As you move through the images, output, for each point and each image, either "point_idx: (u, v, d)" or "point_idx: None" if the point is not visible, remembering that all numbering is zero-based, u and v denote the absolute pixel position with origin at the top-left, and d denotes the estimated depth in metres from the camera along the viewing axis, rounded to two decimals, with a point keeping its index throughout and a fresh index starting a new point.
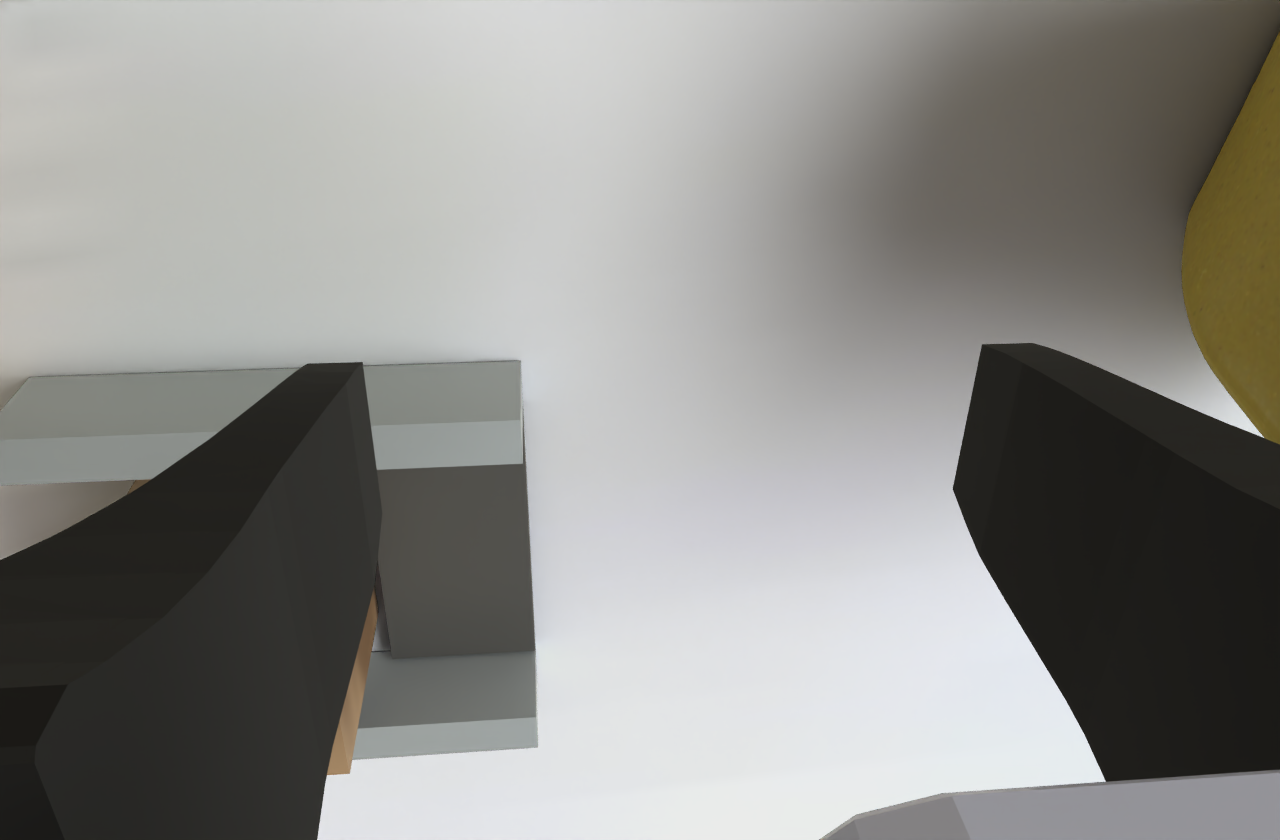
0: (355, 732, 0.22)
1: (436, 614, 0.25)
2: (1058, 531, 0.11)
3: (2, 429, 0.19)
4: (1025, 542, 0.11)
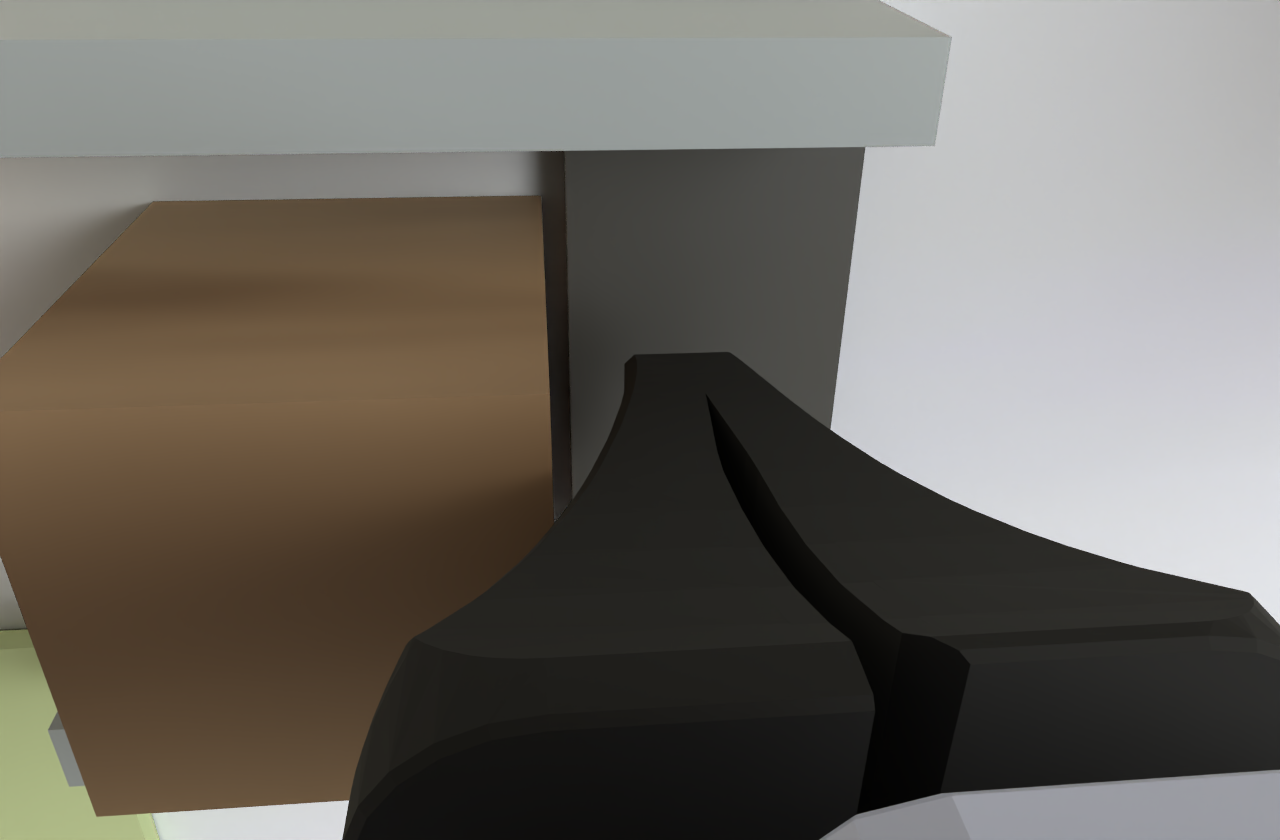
0: None
1: None
2: None
3: None
4: None
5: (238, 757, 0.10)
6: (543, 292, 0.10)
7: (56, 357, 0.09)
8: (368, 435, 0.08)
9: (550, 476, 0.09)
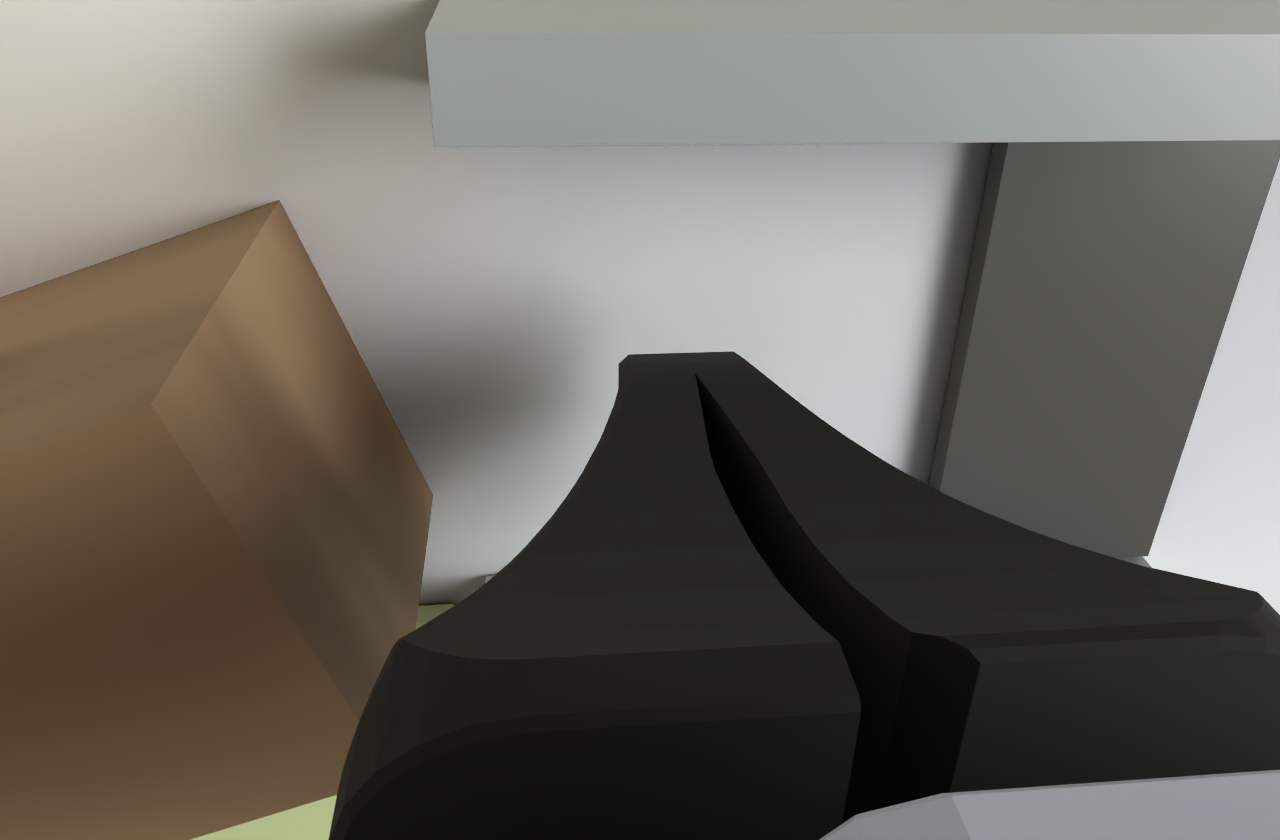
0: None
1: (1019, 489, 0.15)
2: None
3: (466, 25, 0.09)
4: None
5: (75, 820, 0.10)
6: (214, 299, 0.10)
7: None
8: (6, 494, 0.08)
9: (203, 483, 0.08)
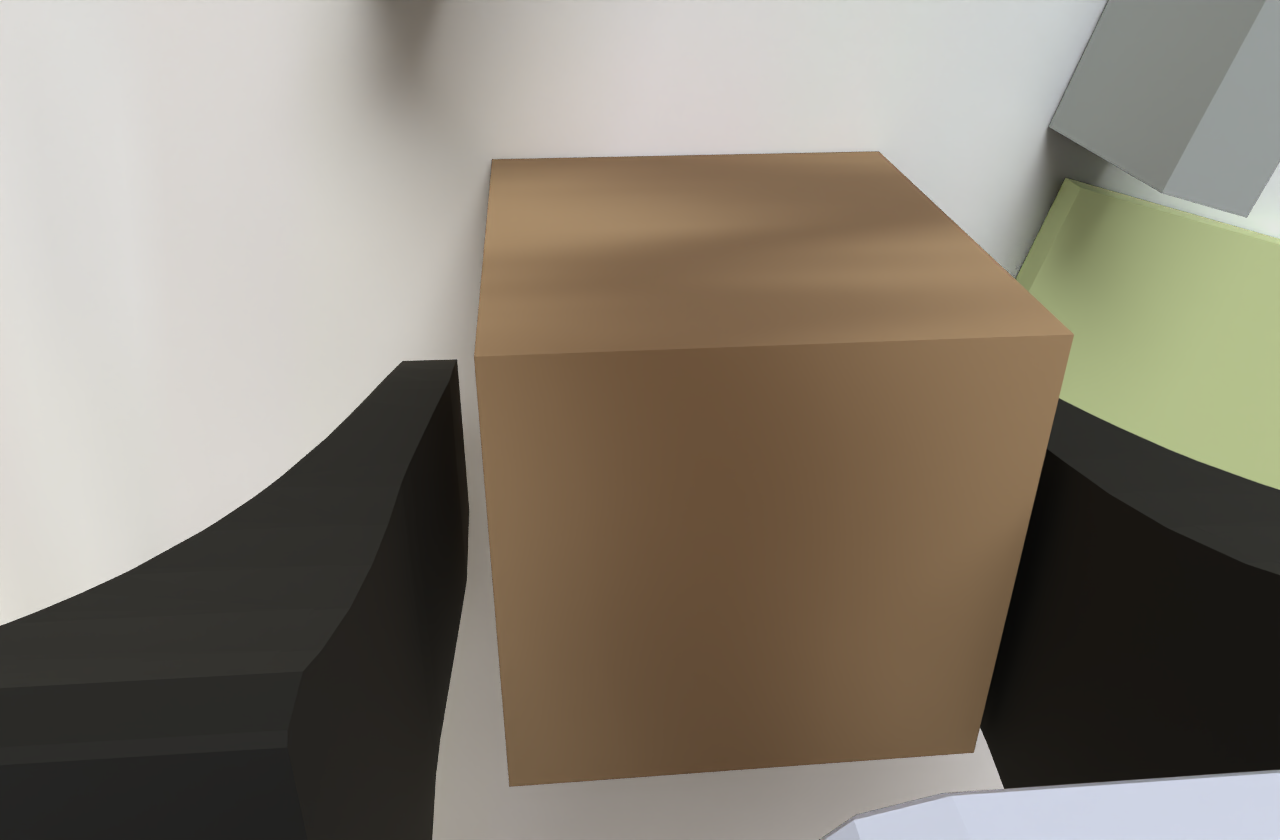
0: (1008, 283, 0.09)
1: None
2: None
3: None
4: None
5: (927, 644, 0.09)
6: None
7: None
8: (528, 518, 0.08)
9: (585, 352, 0.08)
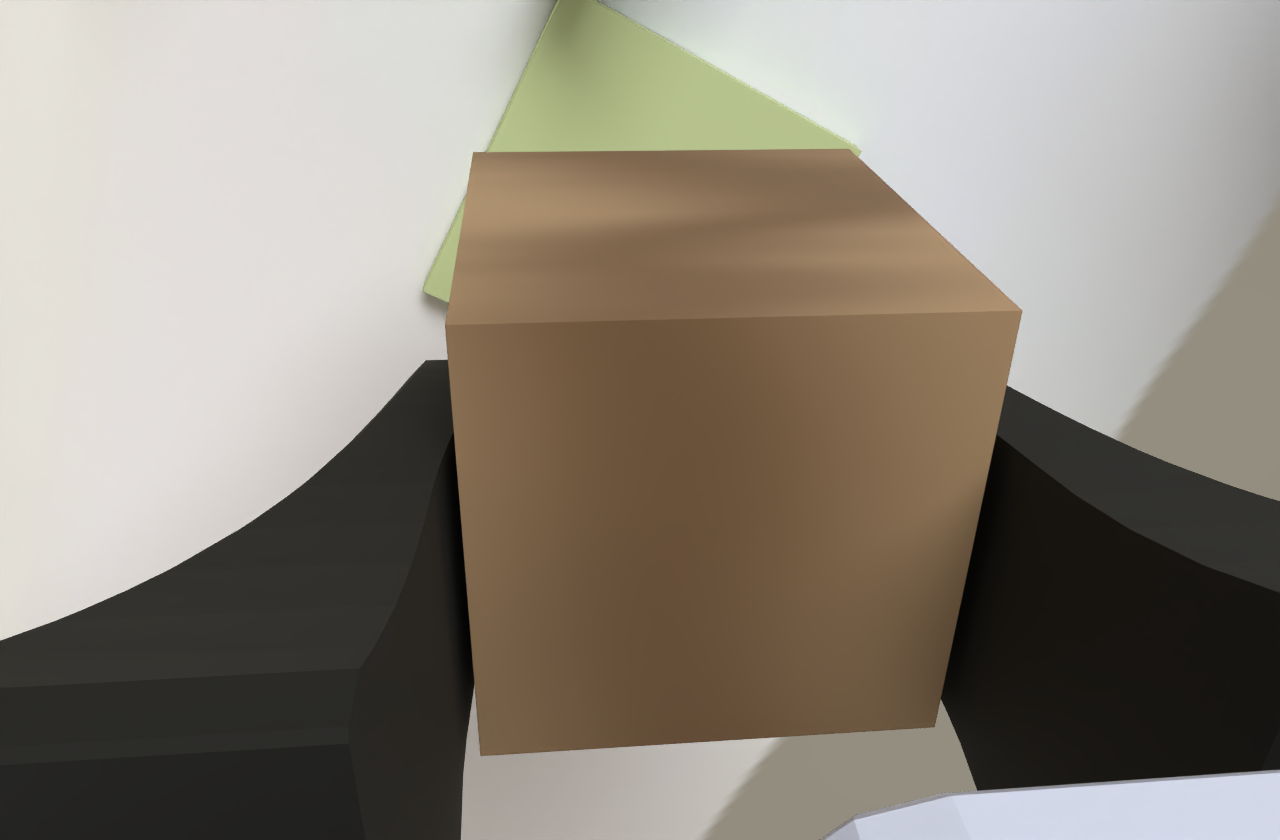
0: (963, 266, 0.09)
1: None
2: None
3: None
4: None
5: (887, 616, 0.10)
6: (459, 238, 0.10)
7: None
8: (498, 485, 0.08)
9: (552, 322, 0.08)
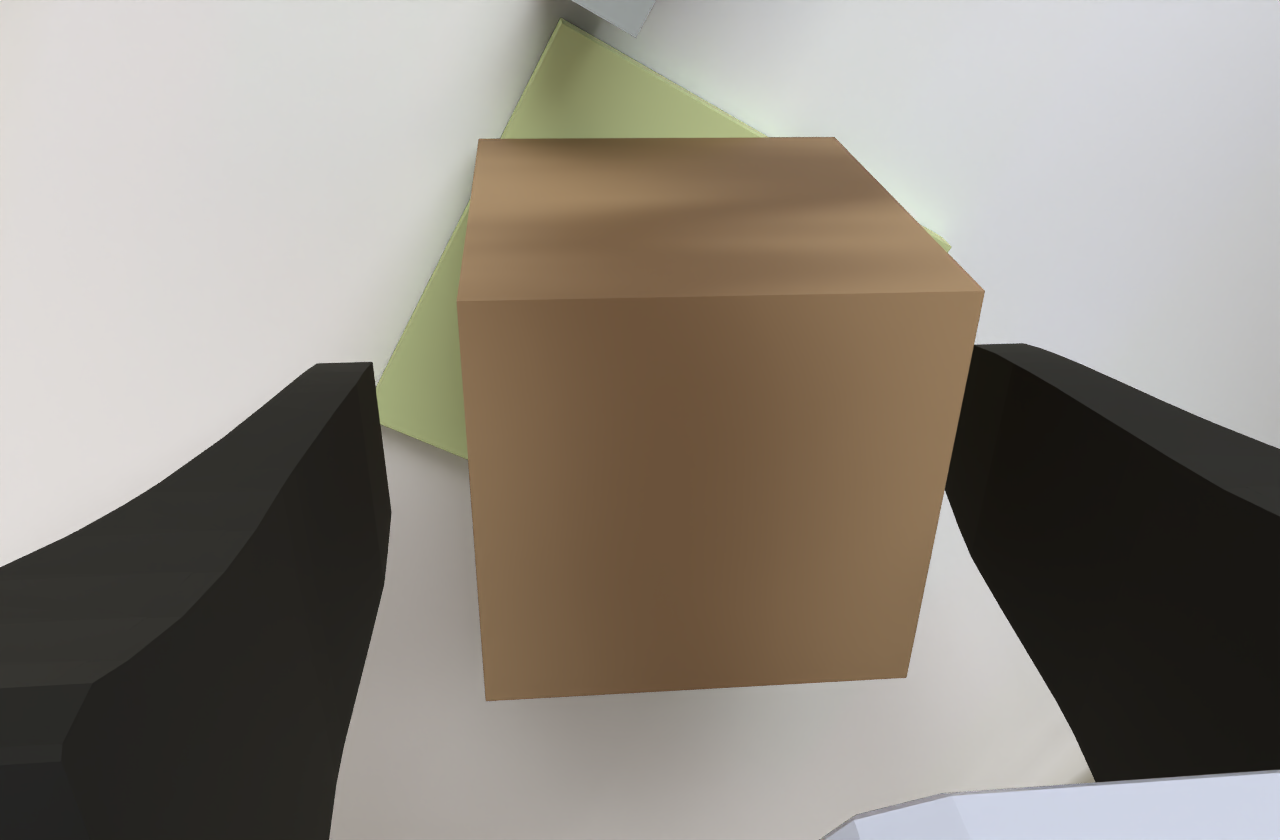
0: (934, 250, 0.10)
1: None
2: (1048, 531, 0.11)
3: None
4: (1016, 542, 0.11)
5: (861, 574, 0.10)
6: (467, 221, 0.10)
7: None
8: (503, 449, 0.09)
9: (554, 299, 0.09)
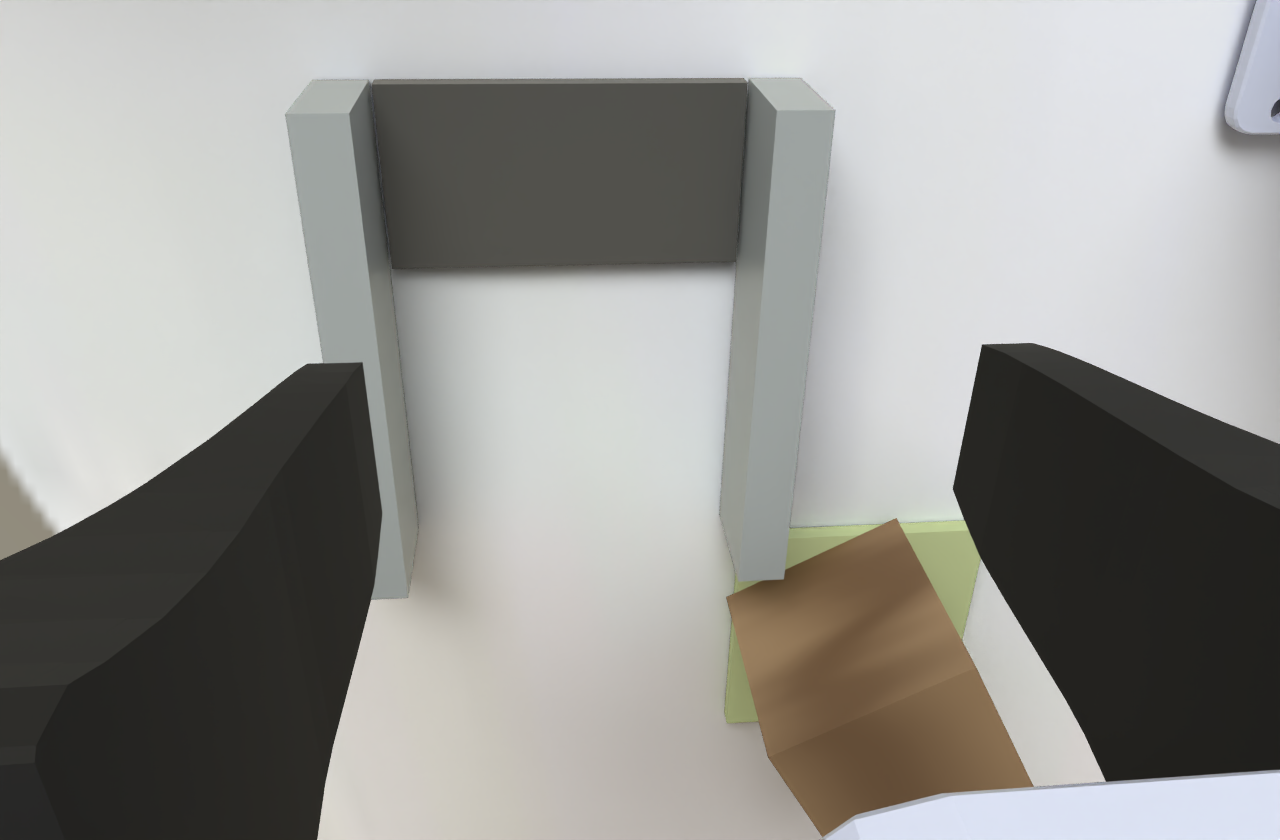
0: (953, 634, 0.21)
1: (671, 205, 0.20)
2: (1058, 531, 0.11)
3: None
4: (1025, 542, 0.11)
5: (989, 771, 0.22)
6: None
7: None
8: (809, 791, 0.22)
9: (804, 740, 0.21)
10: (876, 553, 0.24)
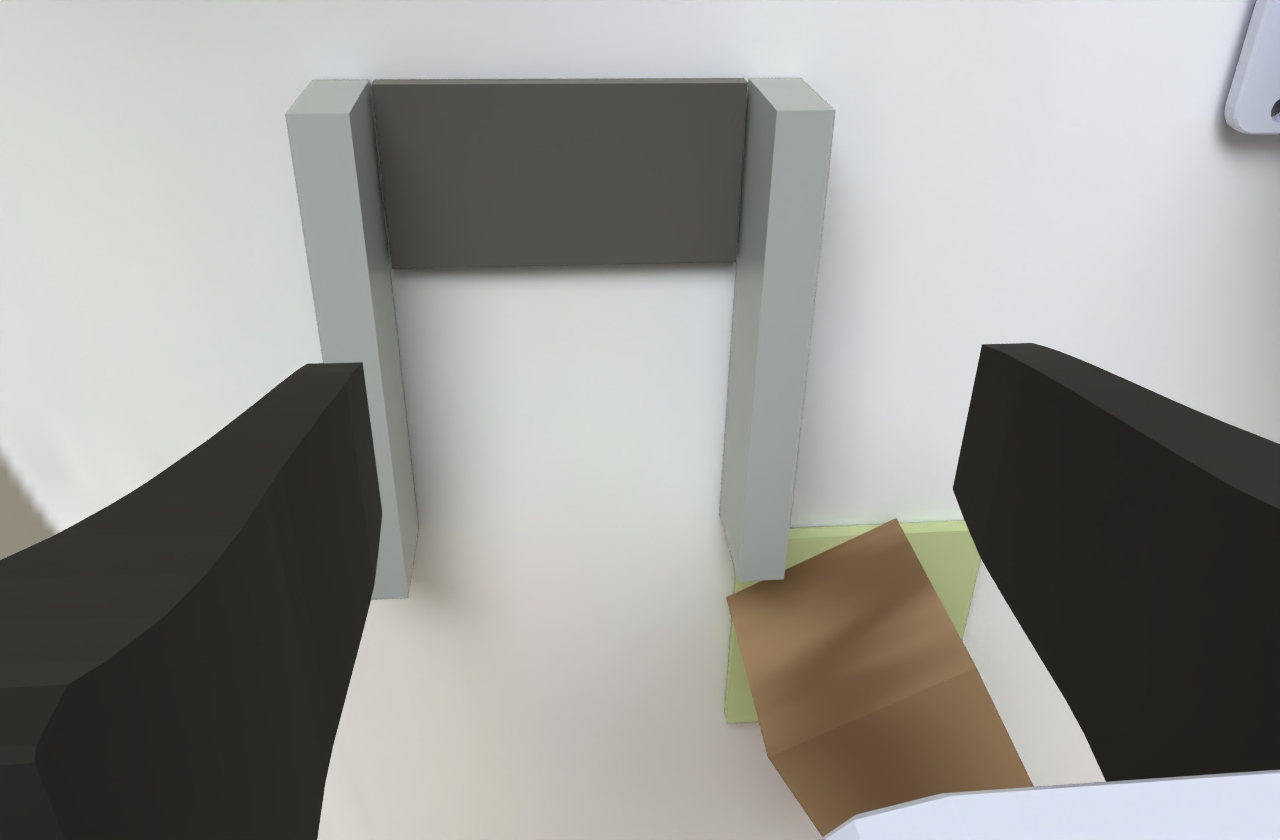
0: (953, 634, 0.21)
1: (671, 205, 0.20)
2: (1058, 531, 0.11)
3: None
4: (1025, 542, 0.11)
5: (989, 771, 0.22)
6: None
7: None
8: (809, 791, 0.22)
9: (804, 740, 0.21)
10: (876, 553, 0.24)
